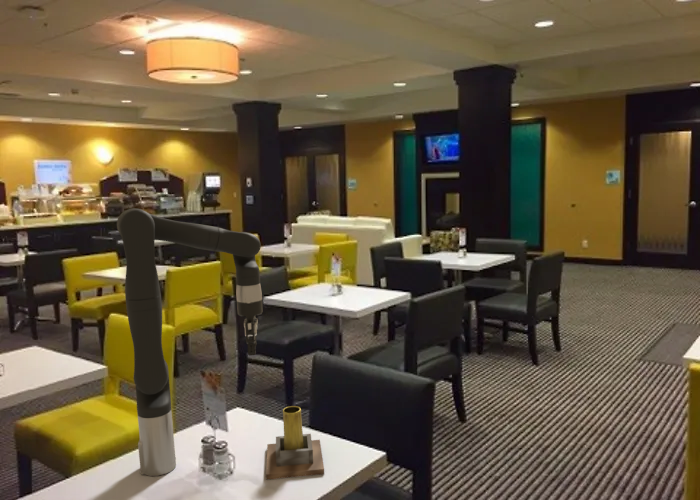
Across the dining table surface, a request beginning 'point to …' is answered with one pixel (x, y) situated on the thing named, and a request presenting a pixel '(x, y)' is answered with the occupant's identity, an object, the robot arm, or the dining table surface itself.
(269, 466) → the dock
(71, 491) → the dining table surface
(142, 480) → the dining table surface
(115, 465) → the dining table surface
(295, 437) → the vase
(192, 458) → the dining table surface
